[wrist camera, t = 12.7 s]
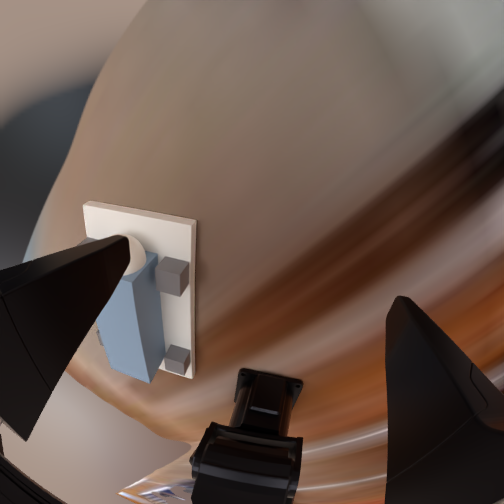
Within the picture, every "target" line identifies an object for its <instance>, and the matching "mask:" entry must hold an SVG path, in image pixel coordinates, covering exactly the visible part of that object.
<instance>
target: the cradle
mask: <svg viewBox="0 0 504 504" xmlns="http://www.w3.org/2000/svg"><path fill="white" fill-rule="evenodd" d="M83 210H84V218H85V226H86V233H87V238H86V239H85V240H83V241H82V242H81V243H79V244H78V245H77V246H79V245H83V244H86V243H89V242H93V241H96V240H100V239H103V238H107V237H109V236H111V235H113V234H127V235H130V236H132V237H134V238H135V239H137V240H138V241H139V242H140V243H141V245H142V246H143V248H144V250H145V251H149V252H153V253H157V254H158V265H157V266H156V267H155V281H156V290H157V291H160V299H161V311H162V322H163V332H164V341H165V350H166V354H165V356H164V359H163V361H162V363H161V365H160V366H159V369H162V370H165V371H168V372H171V373H174V374H177V375H180V376H183V377H187V378H190V379H193V377H194V374H195V251H196V223H197V220H194V219H189V218H184V217H179V216H173V215H168V214H163V213H157V212H152V211H147V210H141V209H136V208H130V207H124V206H119V205H113V204H108V203H102V202H96V201H88V202H87V203H85V204H83ZM97 336H98V339H99V342H100V345H102V346H104V345H103V342H102V339H101V336H100V332H99V330H98V331H97Z"/></svg>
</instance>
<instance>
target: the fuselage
mask: <svg viewBox="0 0 504 504" xmlns="http://www.w3.org/2000/svg"><path fill="white" fill-rule="evenodd" d="M114 235H122V236H126V237H127V238H128V239H129V246H130V256H131V259H130V264H129V266H128V267H127V269H126V271H125V273H124V275H123V276H122V278H121V280H120V282H119V284H118V285H117V287H116V289H115V291H114V293H113V294H112V296H111V298H110V299H109V301H108V303H107V304H106V305H105V307H104V308H103V310H102V311H101V313H100V314H99V316H98V317H97V319H96V322H97V325H98V329H99V332H100V336H101V339H102V342H103V345H104V348H105V351H106V354H107V357H108V360H109V363H110V366H111V368H112V369H114V370H117V371H119V372H122V373H124V374H126V375H129V376H131V377H134V378H136V379H139V380H142V381H144V382H147V383H151V381H152V379H153V377H154V376H155V374H156V372H157V370H158V368H159V366H160V365H161V363H162V361H163V359H164V356H165V354H166V350H165V341H164V332H163V322H162V311H161V299H160V291H157V290H156V281H155V267H156V266H157V265H158V254H157V253H153V252H149V251H145V250H144V248H143V246H142V245H141V243H140V242H139V241H138V240H137V239H135V238H134V237H132V236H130V235H127V234H113V235H111V236H114ZM109 237H110V236H109Z"/></svg>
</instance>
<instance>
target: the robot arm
mask: <svg viewBox="0 0 504 504" xmlns="http://www.w3.org/2000/svg"><path fill="white" fill-rule="evenodd" d="M130 259H131V256H130V246H129V239H128V238H127V237H126V236H122V235H114V236H110V237H107V238H103V239H100V240H96V241H93V242H89V243H86V244H83V245H79V246H76V247H73V248H69V249H66V250H63V251H59V252H56V253H53V254H50V255H47V256H44V257H40V258H37V259H34V260H33V261H32V260H31V261H28V262H25V263H22V264H19V265H16V266H13V267H9V268H6V269H3V270H0V426H1V424H2V423H3V424H5V425H6V426H7V427H8V428H9V429H10V430H12V431H13V432H14V433H16V434H17V435H18V436H19V437H20V438H22V439H23V440H24V441H25V442H26V441H27V440H28V438H29V436H30V434H31V432H32V430H33V428H34V426H35V424H36V422H37V420H38V418H39V416H40V414H41V412H42V411H43V408H44V407H45V405H46V403H47V401H48V399H49V397H50V395H51V394H52V391H53V390H54V388H55V386H56V385H57V383H58V381H59V379H60V378H61V376H62V374H63V372H64V371H65V369H66V367H67V366H68V364H69V362H70V360H71V359H72V357H73V355H74V354H75V352H76V351H77V349H78V347H79V346H80V344H81V342H82V341H83V339H84V338H85V336H86V335H87V333H88V331H89V330H90V328H91V327H92V325H93V324H94V322H95V321H96V319H97V317H98V316H99V314H100V313H101V311H102V310H103V308H104V307H105V305H106V304H107V303H108V301H109V299H110V298H111V296H112V294H113V293H114V291H115V289H116V287H117V285H118V284H119V282H120V280H121V278H122V276H123V275H124V273H125V271H126V269H127V267H128V266H129V264H130ZM385 367H386V383H387V405H388V461H387V483H386V494H385V504H504V395H503V394H502V393H501V392H500V391H499V390H498V389H497V388H496V386H495V385H494V384H493V383H492V382H491V381H490V380H489V379H488V378H487V377H486V376H485V375H484V374H483V373H482V372H481V371H480V370H479V369H478V367H477V366H476V365H475V364H474V363H472V361H471V360H470V359H469V358H468V357H467V355H466V354H465V353H464V352H463V351H462V350H461V349H460V348H459V347H458V346H457V345H456V344H455V343H454V342H453V341H452V340H451V339H450V338H449V337H448V336H447V335H446V333H445V332H444V331H443V330H442V329H441V328H440V327H439V326H438V325H437V324H436V323H435V322H434V321H433V320H432V319H431V318H430V317H429V316H428V315H427V314H426V313H425V312H424V311H423V310H422V309H421V308H419V307H418V306H417V305H416V304H415V303H414V302H413V301H412V300H411V299H410V298H409V297H405V296H397V297H396V298H395V300H394V302H393V304H392V306H391V308H390V310H389V312H388V315H387V318H386V347H385ZM302 388H303V382H302V381H300V380H294V379H289V378H284V377H279V376H274V375H270V374H265V373H260V372H256V371H252V370H247V369H240V371H239V374H238V380H237V387H236V393H235V399H234V402H235V403H236V404H235V407H234V411H233V414H232V417H231V420H230V424H229V426H225V425H220V424H217V423H215V422H211V424H210V426H209V428H206V431H205V434H204V436H203V438H202V440H201V442H200V444H199V446H198V447H197V449H196V450H195V451H194V453H193V454H192V456H191V457H190V460H189V462H190V464H191V465H192V478H193V479H195V480H196V481H195V485H194V489H193V492H192V496H191V500H192V503H193V504H285V503H286V499H287V497H288V498H293V497H294V495H295V493H296V489H297V486H298V481H299V476H300V469H301V458H302V445H303V437H297V438H295V437H287V434H288V428H289V422H290V416H291V411H292V409H293V407H294V405H295V403H296V400H297V398H298V396H299V394H300V392H301V390H302ZM0 504H67V503H65V502H64V501H62V500H61V499H59V498H58V497H56V496H55V495H53V494H52V493H50V492H49V491H47V490H46V489H44V488H43V487H42V486H40V485H39V484H37V483H36V482H35V481H34V480H32V479H31V478H30V477H28V476H27V475H26V474H25V473H23V472H22V471H21V470H20V469H18V468H17V467H16V466H15V465H14V464H12V463H11V462H10V461H9V460H8V459H7V458H5V457H4V452H3V446H2V439H1V434H0Z"/></svg>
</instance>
